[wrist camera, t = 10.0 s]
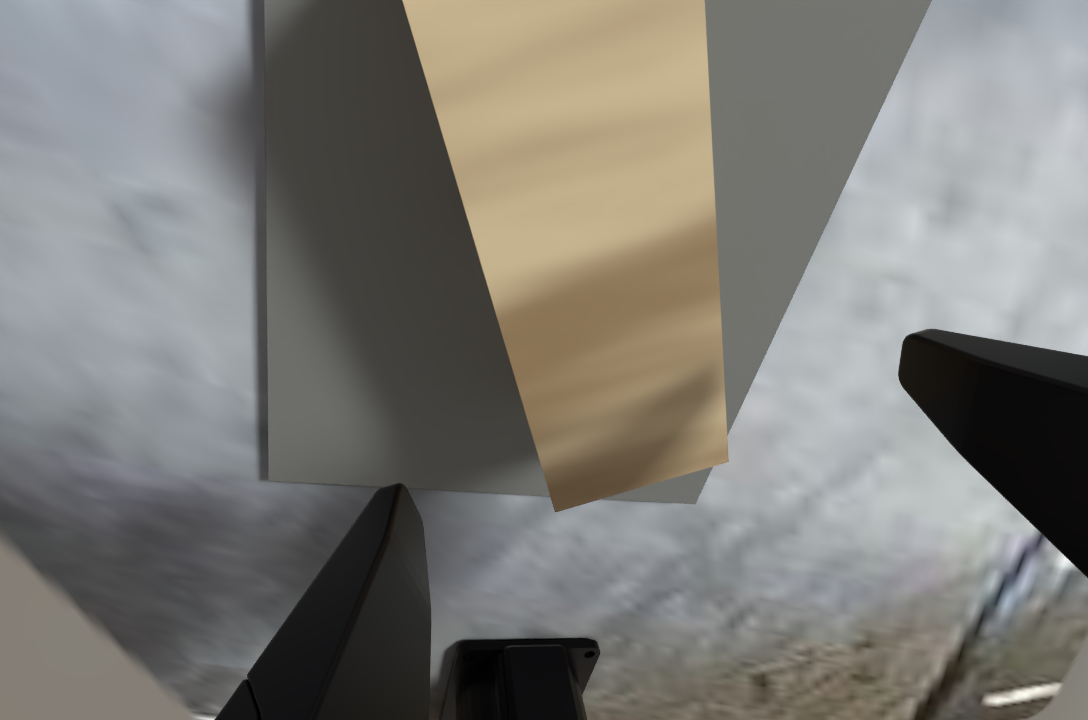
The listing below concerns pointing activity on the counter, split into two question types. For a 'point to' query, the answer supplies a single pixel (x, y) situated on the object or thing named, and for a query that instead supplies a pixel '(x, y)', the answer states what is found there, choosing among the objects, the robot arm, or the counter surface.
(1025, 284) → the counter surface
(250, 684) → the robot arm
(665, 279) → the block
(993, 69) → the counter surface
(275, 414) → the mat
